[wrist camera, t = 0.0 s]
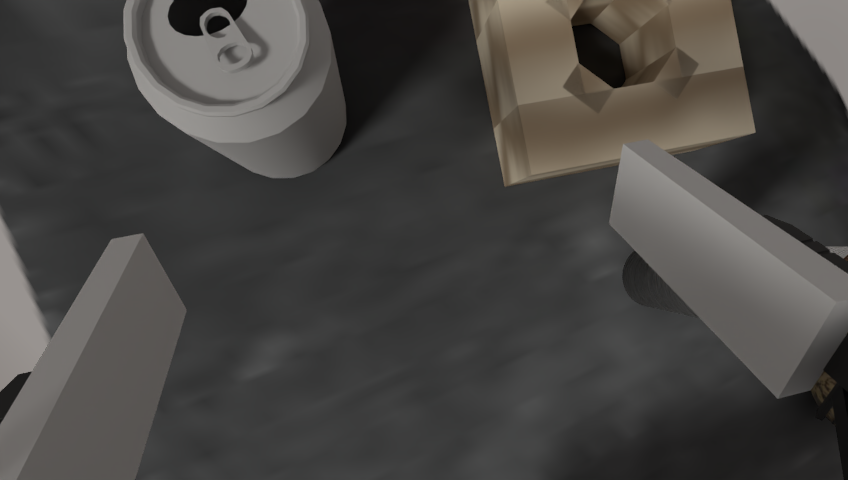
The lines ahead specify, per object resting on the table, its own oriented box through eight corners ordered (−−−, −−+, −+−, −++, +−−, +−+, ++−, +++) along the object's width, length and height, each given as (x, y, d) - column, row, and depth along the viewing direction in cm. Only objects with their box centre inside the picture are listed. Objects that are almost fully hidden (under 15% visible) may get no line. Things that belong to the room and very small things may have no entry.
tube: (686, 300, 30) (1032, 363, 14) (628, 313, 30) (918, 393, 14) (674, 239, 30) (1009, 234, 14) (616, 251, 30) (894, 260, 14)
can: (310, 35, 28) (261, -122, 16) (369, 145, 28) (365, 73, 16) (196, 90, 27) (54, -31, 15) (258, 202, 27) (167, 171, 15)
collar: (693, 150, 30) (755, 132, 25) (504, 186, 29) (531, 175, 24) (656, -45, 30) (711, -101, 25) (464, -18, 29) (483, -72, 24)
